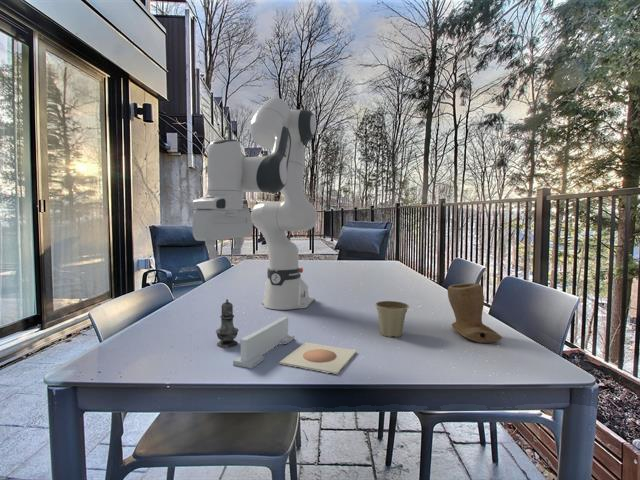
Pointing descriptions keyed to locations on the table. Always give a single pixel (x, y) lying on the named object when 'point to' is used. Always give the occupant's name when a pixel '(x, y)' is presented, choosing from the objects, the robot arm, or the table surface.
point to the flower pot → (391, 317)
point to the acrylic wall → (262, 343)
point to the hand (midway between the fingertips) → (225, 256)
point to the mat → (319, 357)
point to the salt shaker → (227, 327)
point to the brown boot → (470, 312)
